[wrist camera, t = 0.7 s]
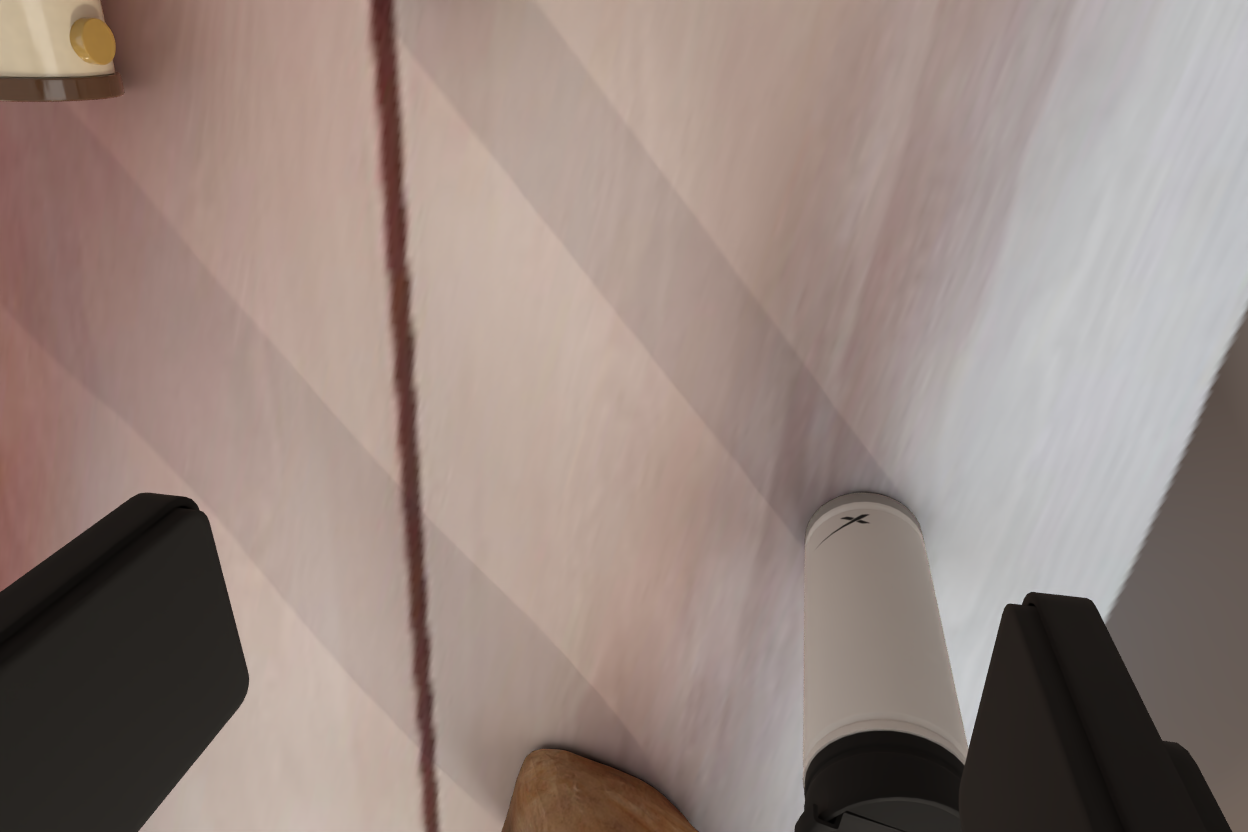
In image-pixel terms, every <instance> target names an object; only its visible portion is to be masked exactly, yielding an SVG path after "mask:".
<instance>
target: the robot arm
mask: <svg viewBox="0 0 1248 832" xmlns="http://www.w3.org/2000/svg"><path fill="white" fill-rule="evenodd" d="M248 686H249V674H248V670H247V666H246V662H245V658H244V654H243V650H242V646H241V643H240V639H239V635H238V631H237V627H236V623H235V619H234V615H233V612H232V608H231V604H230V600H229V596H228V592H227V588H226V584H225V581H224V577H223V573H222V569H221V565H220V561H219V557H218V553H217V550H216V546H215V542H214V538H213V534H212V530H211V526H210V522H209V520H208V517H207V516H206V515H205V514H204V512H202V511H200V510H199V508H198V506H197V504H196V503H195V502H194V501H193V500H192V499H190V498H187V497H182V496H173V495H164V494H155V493H140V494H138V495H136V496H134V497H132V498H130V499H129V500H127V501H126V502H125V503H123V504H122V505H121V506H119V507H118V508H116V509H115V510H114V511H112V512H111V513H109V514H108V515H107V516H105V517H104V518H103V519H101V520H100V521H98V522H97V523H96V524H94V525H93V526H91V527H90V528H89V529H87V530H86V531H85V532H83V533H82V534H80V535H79V536H78V537H76V538H75V539H73V540H72V541H71V542H69V543H68V544H66V545H65V546H64V547H62V548H61V549H60V550H58V551H57V552H55V553H54V554H53V555H51V556H50V557H48V558H47V559H46V560H44V561H43V562H42V563H40V564H39V565H37V566H36V567H35V568H33V569H32V570H30V571H29V572H28V573H26V574H25V575H24V576H22V577H21V578H19V579H18V580H17V581H15V582H14V583H12V584H11V585H10V586H8V587H7V588H5V589H4V590H3V591H1V592H0V832H138V831H139V830H140V829H141V827H142V826H143V825H144V824H145V823H146V821H147V820H148V819H149V818H150V816H151V815H152V814H153V813H154V811H155V810H156V809H157V808H158V807H159V805H160V804H161V803H162V802H163V800H164V799H165V798H166V797H167V795H168V794H169V793H170V792H171V791H172V789H173V788H174V787H175V786H176V784H177V783H178V782H179V781H180V779H181V778H182V777H183V776H184V775H185V773H186V772H187V771H188V770H189V768H190V767H191V766H192V765H193V763H194V762H195V761H196V760H197V759H198V757H199V756H200V755H201V754H202V752H203V751H204V750H205V749H206V747H207V746H208V745H209V744H210V743H211V741H212V740H213V739H214V738H215V736H216V735H217V734H218V733H219V731H220V730H221V729H222V728H223V727H224V725H225V724H226V723H227V722H228V720H229V719H230V718H231V717H232V715H233V714H234V713H235V712H236V711H237V709H238V708H239V707H240V705H241V704H242V702H243V701H244V698H245V696H246V694H247V690H248ZM959 815H960V822H961V827H962V832H1232V830H1231V829H1230V827H1229V825H1228V823H1227V821H1226V819H1225V817H1224V815H1223V813H1222V811H1221V810H1220V808H1219V806H1218V804H1217V802H1216V800H1215V798H1214V796H1213V794H1212V792H1211V790H1210V789H1209V787H1208V785H1207V783H1206V781H1205V779H1204V777H1203V775H1202V773H1201V771H1200V769H1199V767H1198V766H1197V764H1196V762H1195V761H1194V760H1193V758H1192V757H1191V755H1190V754H1189V752H1188V751H1187V750H1186V749H1184V748H1183V747H1182V746H1181V745H1179V744H1178V743H1175V742H1167V741H1162V739H1161V737H1160V735H1159V733H1158V732H1157V729H1156V727H1155V725H1154V723H1153V721H1152V719H1151V717H1150V715H1149V713H1148V711H1147V709H1146V707H1145V705H1144V703H1143V701H1142V699H1141V697H1140V695H1139V693H1138V691H1137V689H1136V687H1135V685H1134V683H1133V681H1132V679H1131V677H1130V675H1129V673H1128V671H1127V668H1126V666H1125V664H1124V662H1123V661H1122V659H1121V656H1120V654H1119V652H1118V650H1117V648H1116V646H1115V644H1114V642H1113V641H1112V638H1111V636H1110V634H1109V632H1108V630H1107V628H1106V626H1105V624H1104V622H1103V620H1102V618H1101V616H1100V614H1099V612H1098V610H1097V608H1096V606H1095V605H1094V603H1093V602H1092V601H1091V600H1089V599H1087V598H1081V597H1072V596H1063V595H1054V594H1045V593H1036V592H1030V593H1028V594H1027V595H1026V597H1025V598H1024V600H1023V603H1022V605H1018V604H1007V605H1006V607H1005V608H1004V611H1003V614H1002V618H1001V622H1000V626H999V630H998V634H997V637H996V641H995V645H994V649H993V653H992V657H991V661H990V665H989V669H988V673H987V677H986V681H985V685H984V689H983V693H982V697H981V701H980V705H979V709H978V713H977V717H976V721H975V725H974V729H973V733H972V737H971V741H970V745H969V749H968V753H967V757H966V761H965V765H964V769H963V773H962V777H961V782H960V787H959Z"/></svg>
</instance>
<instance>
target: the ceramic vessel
mask: <svg viewBox="0 0 1248 832" xmlns="http://www.w3.org/2000/svg"><path fill="white" fill-rule="evenodd" d="M502 832H698V831H697V830H696V829H695V828H694V827H693V826H692V825H691V824H690V823H689V822H688V820H687V819H686V818H685V817H684V815H683V814H682V813H681V812H680V811H679V810H678V809H677V808H676V807H675V806H674V805H673V804H672V803H671V802H670V801H669V800H668V799H667V798H666V797H665V796H663V795H662V794H661V793H660V792H658V791H657V790H656V789H655V788H653V787H651V786H650V785H648V784H646V783H645V782H643V781H642V780H640V779H638V778H636V777H633V776H631V775H629V774H626V773H624V772H622V771H619V770H617V769H614V768H612V767H609V766H606V765H604V764H601V763H598V762H595V761H592V760H590V759H587V758H584V757H581V756H579V755H576V754H574V753H571V752H568V751H565V750H557V749H539V750H536V751H533V752H532V753H530V754H529V755H527V757H526V758H525V760H524V762H523V764H522V767H521V770H520V773H519V775H518V778H517V781H516V784H515V788H514V792H513V796H512V799H511V802H510V808H509V811H508V814H507V817H506V820H505V823H504V826H503V829H502Z"/></svg>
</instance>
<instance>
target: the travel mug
mask: <svg viewBox="0 0 1248 832" xmlns="http://www.w3.org/2000/svg"><path fill="white" fill-rule="evenodd" d="M967 753H968V745H967V740H966V736H965V731H964V726H963V722H962V717H961V712H960V708H959V703H958V698H957V693H956V689H955V684H954V679H953V675H952V670H951V665H950V661H949V656H948V651H947V647H946V642H945V637H944V632H943V628H942V623H941V618H940V614H939V609H938V604H937V600H936V595H935V590H934V586H933V581H932V576H931V571H930V567H929V562H928V557H927V553H926V549H925V543H924V539H923V534H922V531H921V527H920V524H919V523H918V521H917V519H916V518H915V516H914V515H913V514H912V513H911V512H910V510H909V509H908V508H907V507H905V506H904V505H902V504H901V503H900V502H898V501H896V500H894V499H892V498H890V497H887V496H883V495H880V494H875V493H865V492H864V493H851V494H847V495H843V496H840V497H837V498H835V499H833V500H831V501H829V502H828V503H826V504H824V505H823V506H822V507H821V508H820V509H819V510H818V511H816V512H815V514H814V515H813V517H812V518H811V520H810V521H809V523H808V526H807V529H806V534H805V589H804V721H803V767H804V772H803V785H804V795H805V805H804V812H803V814H802V815H801V816H800V818H799V820H798V821H797V823H796V825H795V832H962V827H961V822H960V815H959V787H960V782H961V777H962V773H963V769H964V765H965V761H966V757H967Z"/></svg>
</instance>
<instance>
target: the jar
mask: <svg viewBox="0 0 1248 832" xmlns="http://www.w3.org/2000/svg"><path fill="white" fill-rule="evenodd" d="M115 51H116V44H115V39H114V36H113V34H112V31H111V30H110V28H109V27H108V26H107V24H106V23H105V18H104V13H103V9H102V4H101V0H0V101H11V102H59V101H83V100H98V99H107V98H114V97H119V96H122V95H124V93H125V92H124V87H123V83H122V78H121V74H120V73H119V72H116V71H115V66H114V62H113V58H114V56H115Z"/></svg>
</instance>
